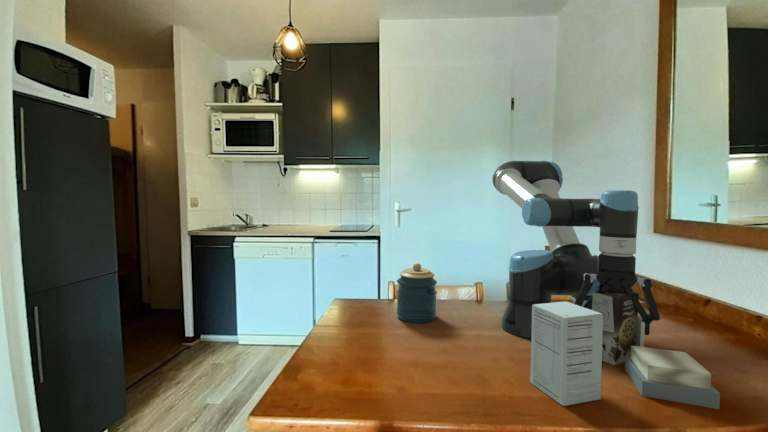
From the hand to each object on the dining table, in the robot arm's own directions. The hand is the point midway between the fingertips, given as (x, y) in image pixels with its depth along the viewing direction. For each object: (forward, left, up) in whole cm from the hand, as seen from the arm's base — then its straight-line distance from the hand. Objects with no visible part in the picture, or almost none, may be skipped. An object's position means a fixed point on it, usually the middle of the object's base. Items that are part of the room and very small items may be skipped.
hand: (613, 343), depth 87 cm
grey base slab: (+7, -12, -4) cm, 15 cm away
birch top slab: (+7, -12, 0) cm, 14 cm away
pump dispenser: (+1, +45, -4) cm, 45 cm away
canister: (-53, +10, -4) cm, 54 cm away
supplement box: (-13, -22, -4) cm, 26 cm away
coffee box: (0, 0, -4) cm, 4 cm away
